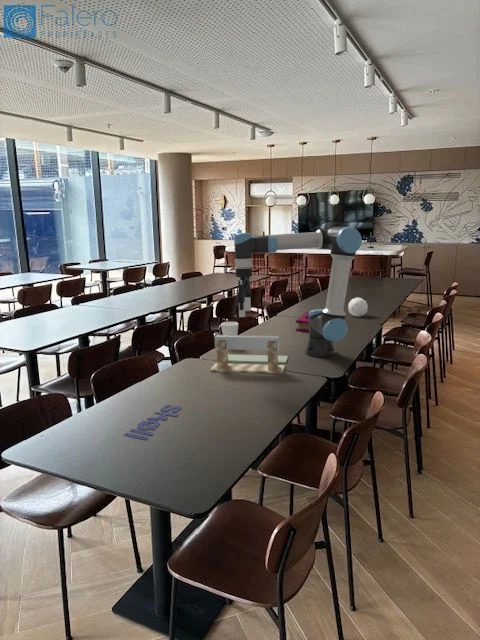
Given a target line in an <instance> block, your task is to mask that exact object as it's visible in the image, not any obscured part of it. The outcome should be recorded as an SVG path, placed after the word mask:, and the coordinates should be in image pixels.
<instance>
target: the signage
mask: <svg viewBox="0 0 480 640" xmlns="http://www.w3.org/2000/svg"><path fill="white" fill-rule="evenodd" d="M181 409H182V407H181V405H180V406H179V405H175V406H172V405H171V404H166V405H164V406H162V407H161V408H160V411H156V412H154V415H158V416H155V417H154V416H153V417H152V416H151V417H147V418H146V419H143V420H142V421H141V422H139V423H138V424H137V429H135V428H131V429H130V430H129V431H128V432H126V433H124V434H123V437H126V438H132V439H138V440H144V441H148V439H149V438H150V436H151V437H153V436H154V434H155V433H154V432H155V430H156V429H157V428H159V426H160V425H161V424H160V422H159V420H160V421H164V422H165V421H167V420H168V419H169V418H168V417H175V418H177V417H178V416H179V414H178V413H179V412H180V411H181ZM170 411H171V412H170ZM152 424H153V425H152ZM151 430H152V431H153V432H152V431H151ZM148 436H149V437H148Z"/></svg>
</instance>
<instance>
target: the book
mask: <svg viewBox="0 0 480 640" xmlns="http://www.w3.org/2000/svg"><path fill="white" fill-rule="evenodd" d="M309 312H310V311H305V312H304V313H303V314H301V316H300V317H299V318H297V319H296V320H295V323H296V324H298V327H296V328H295V331H296V332H305V331H308V333H309Z"/></svg>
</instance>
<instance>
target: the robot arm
mask: <svg viewBox="0 0 480 640" xmlns="http://www.w3.org/2000/svg"><path fill="white" fill-rule="evenodd" d="M361 235H362V234H361V233H360V232H359V230H358V229H356V228H354V227H352V226H334V227H329V228H328V227H327V228H323V229H317V230H316V231H312V232H311V231H310V232H309V231H308V232H294V233H281V234H265V235H256V234H255V235H252V234H251V233H250V232H238V233H236V234H234V239H233V240H234V242H233V244H234V259H235V260H233V262H234V264H235V277H236V278H240V279H239V280H238V281H237V282H238V286H237V290H238V291H237V299H236V303H238V316H239V318H245V317H246V312H251V311H252V308H251V307H252V305H251V298H253V294H252V288H251V282H250V278H251V277H252V276H253V268H252V267H253V257H252V255H256V254H257V255H258V254H274V253H277V251H283V250H284V251H286V250H287V251H288V250H298V249H300V250H301V249H313V248H316V249H317V250H329V251H330V256H331V257H332V263H331V269H330V276H329V281H328V282H329V283H328V287H327V288H328V290H327V296H326V302H325V307H324V308H319V309H312V310H311V309H310V311H308V312H309V332H308V336H309V337H308V341H307V343H306V347H305V354H307V355H308V356H311V357H318V358H324V357H332V356H334V355H335V354H336V347H335V344H334V342H339V341H342V339H344V338H345V337H346V335H347V334H348V330H349V327H348V324H347V321H346V319H347V317H346V316H347V314H346V312H345V311H344V308H345V303H346V302H345V301H346V297H347V296H346V295H347V291H348V290H347V289H348V285H349V284H348V282H349V277H350V271H351V270H350V269H351V264H352V261H353V259H355V258H356V255H357V251H359V250H360V248H361V246H362V242H363V239H362V236H361Z"/></svg>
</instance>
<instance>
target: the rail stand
mask: <svg viewBox="0 0 480 640" xmlns="http://www.w3.org/2000/svg"><path fill="white" fill-rule="evenodd" d="M215 350H216V362H215V363H214V364H213V365H212V367H211V368H210V369H209V371H210V373H239V374H240V373H241V374H242V373H244V374H272V373H276V374H275V375H277V374H279V375H281V374H282V375H283V373H284V371H285V368H286V365H285V364H279V363H278V356H279V350H276V342H267V350H266V351H267V354H266V355H268V363H267V364H265V363H260V364H259V363H258V364H257V363H254V364H253V363H249V364H248V363H229V362H228V355H229V349H225V342H218V341H216V349H215Z"/></svg>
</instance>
